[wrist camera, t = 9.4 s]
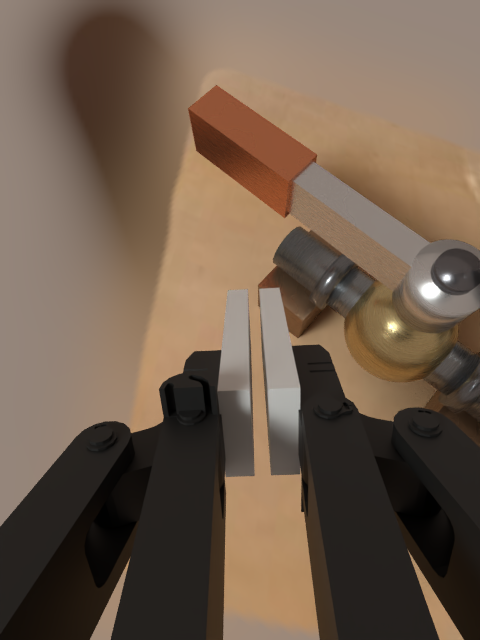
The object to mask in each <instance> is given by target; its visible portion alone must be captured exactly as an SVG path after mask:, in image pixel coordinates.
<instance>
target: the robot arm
mask: <svg viewBox="0 0 480 640" xmlns="http://www.w3.org/2000/svg"><path fill="white" fill-rule="evenodd" d="M259 294H260V318H261V342H262V360H263V373H264V386H265V400H266V413H267V427H268V440H269V454H270V467H271V475H292V474H300V468H301V474H302V493H301V512H304V515H305V523H306V531H307V539H308V547H309V555H310V563H311V572H312V580H313V588H314V596H315V604H316V612H317V620H318V629H319V637H320V640H439V637H438V634H437V632H436V629H435V626H434V623H433V620H432V617H431V615H430V612H429V609H428V606H427V603H426V601H425V598H424V595H423V592H422V589H421V586H420V584H419V581H418V578H417V575H416V572H415V569H414V567H413V564H412V561H411V558H410V555H409V553H408V551H409V552H410V554H411V555H412V557H413V559H414V560H415V562H416V563H417V565H418V567H419V568H420V570H421V571H422V573H423V575H424V576H425V578H426V579H427V581H428V583H429V584H430V586H431V587H432V589H433V591H434V592H435V594H436V595H437V597H438V599H439V600H440V602H441V603H442V605H443V607H444V608H445V610H446V611H447V613H448V615H449V616H450V618H451V619H452V621H453V623H454V624H455V626H456V627H457V629H458V631H459V632H460V634H461V635H462V637H463V639H464V640H480V447H479V446H478V445H477V444H476V443H475V442H474V441H472V440H471V439H470V438H469V437H468V436H467V435H466V434H465V433H464V432H463V431H462V430H461V429H460V428H459V427H458V426H457V425H456V424H455V423H453V422H452V421H451V420H450V419H449V418H447V417H446V416H444V415H443V414H441V413H438V412H436V411H433V410H430V409H425V408H407V409H404V410H401V411H399V412H398V413H397V414H396V415H395V416H394V422H392V421H386V420H381V419H375V418H371V417H368V416H365V415H363V414H361V413H359V412H358V409H357V408H356V406H355V405H354V403H353V402H351V401H350V400H348V399H347V398H345V395H344V392H343V390H342V387H341V384H340V381H339V379H338V376H337V373H336V372H335V368H334V365H333V364H332V360H331V357H330V354H329V352H328V351H326V350H325V349H324V348H323V347H322V346H320V345H301V346H292V345H291V341H290V336H289V331H288V326H287V322H286V317H285V312H284V307H283V303H282V298H281V293H280V289H279V288H264V289H259ZM159 392H160V398H161V404H162V410H163V415H164V419H163V422H162V423H160V424H158V425H156V426H155V427H152V428H149V429H146V430H142V431H138V432H134V433H131V432H130V428H129V427H127V426H126V425H125V424H124V423H119V422H116V421H114V422H113V421H112V422H103V423H99V424H95V425H93V426H91V427H89V428H87V429H85V430H84V431H82V432H81V433H80V434H79V435H78V436H77V437H76V438H75V439H74V440H73V441H72V443H71V444H70V445H69V446H68V447H67V449H66V450H65V451H64V452H63V453H62V454H61V456H60V457H59V458H58V459H57V460H56V461H55V463H54V464H53V465H52V466H51V467H50V469H49V470H48V471H47V472H46V473H45V474H44V476H43V477H42V478H41V479H40V480H39V482H38V483H37V484H36V485H35V486H34V488H33V489H32V490H31V491H30V492H29V493H28V495H27V496H26V497H25V498H24V499H23V501H22V502H21V503H20V504H19V505H18V506H17V508H16V509H15V510H14V511H13V512H12V514H11V515H10V516H9V517H8V518H7V519H6V521H5V522H4V523H3V524H2V526H1V527H0V640H90V638H91V636H92V634H93V632H94V630H95V628H96V626H97V624H98V622H99V620H100V617H101V615H102V613H103V611H104V609H105V607H106V605H107V603H108V601H109V599H110V597H111V595H112V593H113V591H114V589H115V587H116V585H117V583H118V581H119V579H120V577H121V575H122V573H123V571H124V569H125V567H126V564H127V562H128V560H129V558H130V561H129V565H128V570H127V574H126V578H125V582H124V586H123V590H122V595H121V599H120V604H119V607H118V612H117V616H116V620H115V624H114V628H113V632H112V636H111V640H223V614H224V565H225V517H226V488H225V474H226V477H235V476H254V439H253V402H252V365H251V340H250V321H249V303H248V289H244V290H228V294H227V303H226V313H225V322H224V332H223V342H222V350H217V351H195V352H194V353H193V354H192V355H191V356H190V357H189V358H188V359H187V360H186V362H185V366H184V372H183V374H178V375H176V376H173V377H171V378H169V379H168V380H166V381H165V382H163V384H162V385H161V387H160V388H159ZM407 549H408V550H407ZM130 556H131V557H130Z"/></svg>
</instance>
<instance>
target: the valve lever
mask: <svg viewBox="0 0 480 640" xmlns="http://www.w3.org/2000/svg"><path fill="white" fill-rule="evenodd" d="M188 111H189V116H190V121H191V126H192V131H193V136H194V141H195V146H196V151H197V152H199V153H200V154H201V155H202V156H204V157H205V158H206V159H208V160H209V161H210V162H212V163H213V164H214V165H216V166H217V167H218V168H220V169H221V170H222V171H223V172H225V173H226V174H227V175H229V176H230V177H231V178H233V179H234V180H235V181H237V182H238V183H239V184H241V185H242V186H243V187H244V188H246V189H247V190H248V191H250V192H251V193H252V194H254V195H255V196H256V197H258V198H259V199H260V200H262V201H263V202H264V203H265V204H267V205H268V206H269V207H271V208H272V209H273V210H275V211H276V212H277V213H279V214H280V215H281V216H283V217H284V218H285V217H286V216H287V215H288V214H291V215H292V216H293V217H295V218H296V219H297V220H299V221H300V222H301V223H303V224H304V225H305V226H307V227H308V228H309V229H311V230H312V231H313V232H315V233H316V234H317V235H319V236H320V237H321V238H323V239H324V240H325V241H327V242H328V243H329V244H330V245H332V246H333V247H334V248H336V249H337V250H338V251H340V252H341V253H342V254H344V255H345V256H346V257H348V258H349V259H350V260H352V261H353V262H354V263H356V264H357V265H358V266H360V267H361V268H362V269H364V270H365V271H366V272H368V273H369V274H370V275H372V276H373V277H374V278H376V279H377V280H378V281H380V282H381V283H382V284H383V285H385V286H386V287H387V288H389V289H390V290H391V291H393V292H392V302H393V306H394V309H395V311H396V313H397V314H398V316H399V317H400V319H401V320H402V321H403V322H404V323H406V324H407V325H408V326H410V327H411V328H413V329H415V330H417V331H420V332H424V333H432V334H435V333H441V332H445V331H447V330H449V329H451V328H453V327H454V326H455V325H457V324H458V323H460V322H461V321H462V320H464V319H465V318H467V317H468V316H469V315H471V314H472V313H474V312H475V311H476V310H478V309H479V308H480V251H479V250H478V249H477V248H475V247H473V246H472V245H470V244H467V243H465V242H462V241H458V240H439V241H435V242H432V243H430V242H428V241H427V240H425V239H424V238H422V237H421V236H420V235H418V234H417V233H415V232H414V231H412V230H411V229H410V228H408V227H407V226H405V225H404V224H402V223H401V222H400V221H398V220H397V219H395V218H394V217H392V216H391V215H389V214H388V213H387V212H385V211H384V210H382V209H381V208H379V207H378V206H377V205H375V204H374V203H372V202H371V201H369V200H368V199H367V198H365V197H364V196H362V195H361V194H359V193H358V192H357V191H355V190H354V189H352V188H351V187H349V186H348V185H346V184H345V183H344V182H342V181H341V180H339V179H338V178H336V177H335V176H334V175H332V174H331V173H329V172H328V171H326V170H325V169H324V168H322V167H321V166H319V165H318V164H316V158H317V154H315V153H314V152H313V151H311V150H310V149H308V148H307V147H305V146H304V145H302V144H301V143H300V142H298V141H297V140H295V139H294V138H292V137H291V136H289V135H288V134H286V133H285V132H284V131H282V130H281V129H279V128H278V127H276V126H275V125H273V124H272V123H271V122H269V121H268V120H266V119H265V118H263V117H262V116H260V115H259V114H257V113H256V112H255V111H253V110H252V109H250V108H249V107H247V106H246V105H244V104H243V103H242V102H240V101H239V100H237V99H236V98H234V97H233V96H231V95H230V94H229V93H227V92H226V91H224V90H223V89H221V88H220V87H218V86H217V85H216V86H215V87H214V88H212V89H211V90H210V91H209V92H207V93H206V94H205V95H204V96H203V97H201V98H200V99H199V100H198V101H196V102H195V103H194V104H193V105H192V106H190V107H189V108H188Z"/></svg>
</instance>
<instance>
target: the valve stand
mask: <svg viewBox="0 0 480 640" xmlns="http://www.w3.org/2000/svg"><path fill="white" fill-rule="evenodd" d="M273 263H274V264H276V265H277V266H276V267H275V268H274V269H273V270H272V271H271V272H270V273H269V274H268V275H267V276H266V277H265V279H264V280H263V281H262V282H261V283H260V284H259V285H258V306H259V307H260V294H259V289H264V288H279V289H280V293H281V298H282V303H283V307H284V312H285V317H286V322H287V326H288V331H289V332H291V333H292V334H293V335H294V336H296V337H297V338H298V337H299V336H300V335H301V334H302V333H303V332H304V331H305V329H306V328H307V327H308V326H309V325H310V324H311V323H312V322H313V320H314V319H315V318H316V317H317V316H318V315H319V314H320V313H321V312H322V310H323V309H324V308H325V307H326V306H327V305H329V306H330V307H331V308H332V309H334V310H335V311H336V312H338V313H339V314H340V315H342V316H343V317H344V318H345V321H344V335H345V340H346V344H347V347H348V349H349V351H350V353H351V355H352V356H353V358H354V359H355V361H356V362H357V363H358V364H359V365H360V366H361V367H362V368H363V369H364V370H366V371H367V372H369V373H370V374H372V375H374V376H376V377H378V378H381V379H383V380H387V381H392V382H412V381H416V380H420V379H424V380H426V381H427V382H428V383H429V384H431V385H432V386H433V387H435V388H436V389H437V391H436V393H435V394H434V395H433V397H432V398H431V399H430V401H429V402H428V403H427V405H426V406H425V407H424V408H425V409H430V410H433V411H436V412H438V413H441V414H443V415H444V416H446V417H447V418H449V419H450V420H451V421H452V422H453V423H455V424H456V425H457V426H458V427H459V428H460V429H461V430H462V431H463V432H464V433H465V434H466V435H467V436H468V437H469V438H470V439H471V440H472V441H474V442H475V443H476V444H477V445H478V446H479V447H480V352H479V353H478V354H475V353H474V352H472V351H471V350H469V349H468V348H467V347H465V346H464V345H463V344H461V343H460V342H458V341H457V339H458V332H459V329H458V324H457V325H455V326H454V327H453V328H451V329H449V330H447V331H445V332H441V333H435V334H432V333H424V332H420V331H417V330H415V329H413V328H411V327H410V326H408V325H407V324H406V323H404V322H403V321H402V320H401V319H400V317H399V316H398V314H397V313H396V311H395V309H394V306H393V302H392V292H393V291H391V290H390V289H389V288H387V287H386V286H385V285H383V284H382V283H381V282H380V281H378V280H377V281H375V280H373V279H372V278H371V277H369V276H368V275H366V274H365V273H364V272H362V271H361V270H360V269H358V265H357V264H356V263H354V262H353V261H352V260H350V259H349V258H348V257H346V256H345V255H344V254H342V253H341V252H340V251H338V250H337V249H336V248H334V247H333V246H332V245H330V244H329V243H328V242H327V241H325V240H324V239H323V238H321V237H320V236H319V235H317V234H316V233H315V232H313V231H312V230H311V231H310V232H307V231H306V230H305V229H303V228H302V227H297V228H295V229H294V230H292V231H291V232H290V233H289V234H288V235H287V236H286V238H285V239H284V240H283V241H282V243H281V244H280V246H279V247H278V249H277V251H276V253H275V255H274V258H273Z"/></svg>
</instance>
